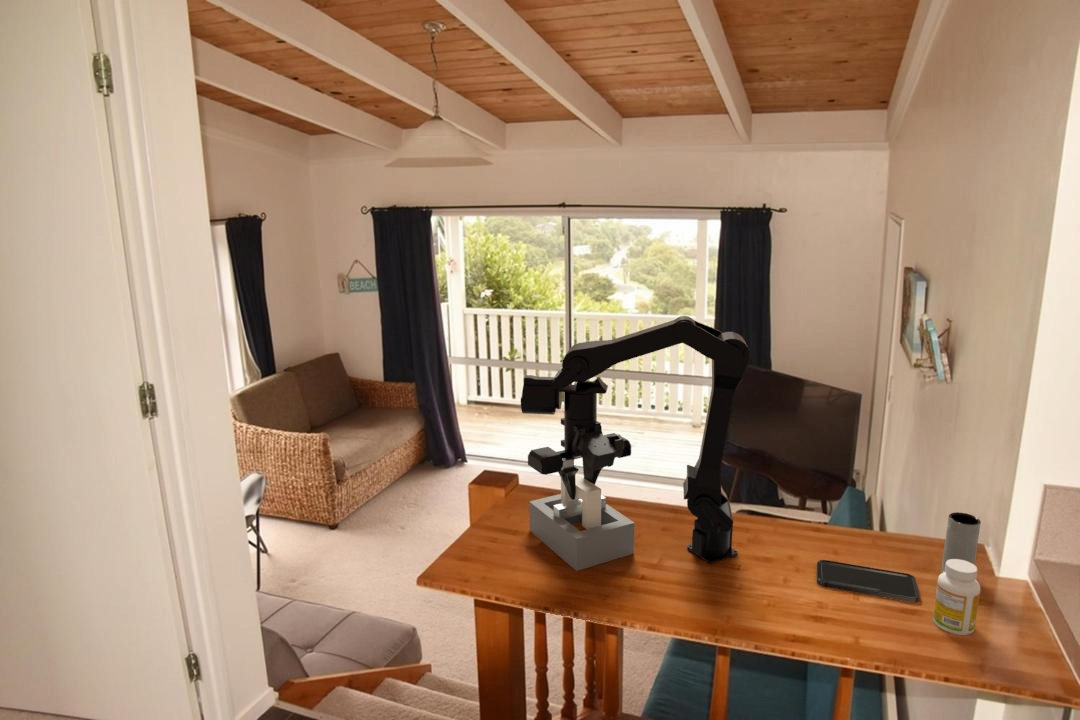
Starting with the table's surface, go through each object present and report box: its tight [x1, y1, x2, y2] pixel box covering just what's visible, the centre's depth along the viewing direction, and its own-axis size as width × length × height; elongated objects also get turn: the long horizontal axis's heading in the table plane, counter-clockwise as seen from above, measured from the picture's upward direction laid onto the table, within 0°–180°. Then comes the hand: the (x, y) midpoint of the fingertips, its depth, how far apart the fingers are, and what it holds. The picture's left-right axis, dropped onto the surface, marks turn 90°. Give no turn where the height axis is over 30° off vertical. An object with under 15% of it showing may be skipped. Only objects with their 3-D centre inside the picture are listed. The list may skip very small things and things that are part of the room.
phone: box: [816, 559, 920, 603], centre depth 115 cm, size 8×1×15 cm
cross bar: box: [554, 494, 607, 520], centre depth 128 cm, size 10×2×2 cm, turn 119°
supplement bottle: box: [932, 559, 981, 636], centre depth 103 cm, size 5×5×10 cm
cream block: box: [560, 472, 602, 530], centre depth 128 cm, size 3×9×7 cm, turn 29°
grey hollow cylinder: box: [941, 512, 981, 574], centre depth 116 cm, size 4×4×10 cm
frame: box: [528, 493, 635, 572], centre depth 129 cm, size 12×17×6 cm
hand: (580, 497), depth 127 cm, fingers closed on cream block, 3 cm apart
